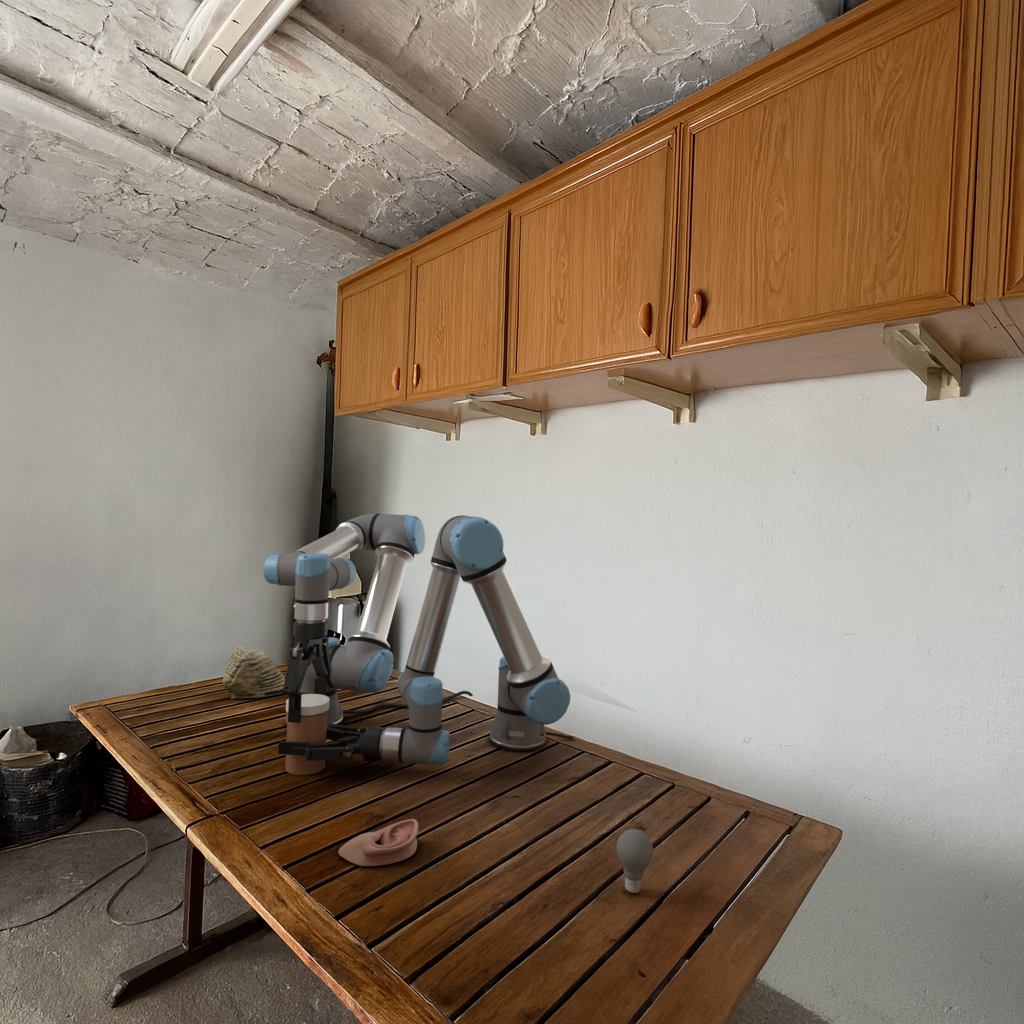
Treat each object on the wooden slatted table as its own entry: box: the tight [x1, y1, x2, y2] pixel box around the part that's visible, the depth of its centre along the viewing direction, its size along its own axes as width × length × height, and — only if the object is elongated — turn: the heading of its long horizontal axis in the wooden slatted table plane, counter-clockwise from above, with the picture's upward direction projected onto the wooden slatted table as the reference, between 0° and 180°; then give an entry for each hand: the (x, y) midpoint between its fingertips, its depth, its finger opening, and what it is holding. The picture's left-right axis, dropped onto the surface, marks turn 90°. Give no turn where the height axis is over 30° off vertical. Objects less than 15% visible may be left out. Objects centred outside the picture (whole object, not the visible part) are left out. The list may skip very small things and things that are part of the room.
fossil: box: [222, 646, 286, 699], centre depth 198 cm, size 9×18×15 cm, turn 132°
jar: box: [284, 710, 328, 776], centre depth 148 cm, size 9×9×15 cm
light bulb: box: [615, 828, 654, 894], centre depth 106 cm, size 6×6×10 cm
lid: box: [285, 694, 329, 716], centre depth 148 cm, size 10×10×2 cm
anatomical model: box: [337, 818, 419, 867], centre depth 114 cm, size 13×4×12 cm
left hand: (307, 713), depth 148 cm, fingers open, 11 cm apart
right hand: (287, 739), depth 148 cm, fingers closed on jar, 9 cm apart
